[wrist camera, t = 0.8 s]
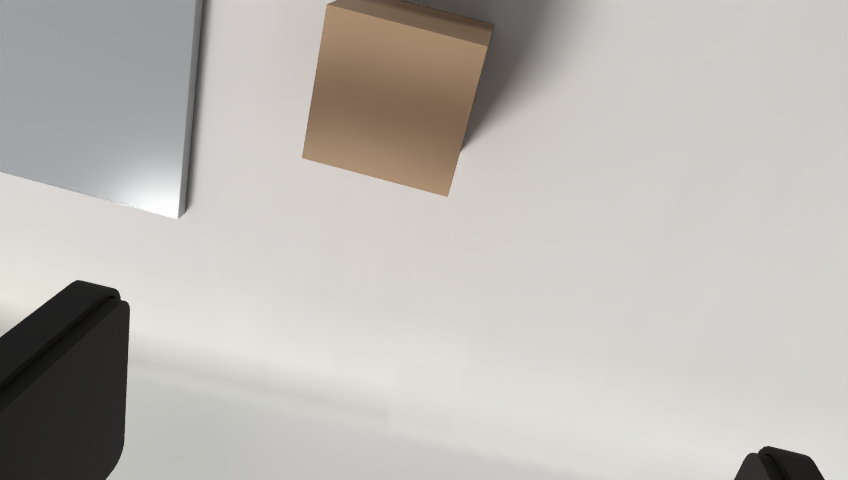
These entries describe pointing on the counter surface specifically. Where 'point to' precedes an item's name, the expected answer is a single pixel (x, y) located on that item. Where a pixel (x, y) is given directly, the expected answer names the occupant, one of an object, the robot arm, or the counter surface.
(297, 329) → the counter surface
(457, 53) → the walnut cube
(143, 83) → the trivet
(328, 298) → the counter surface
